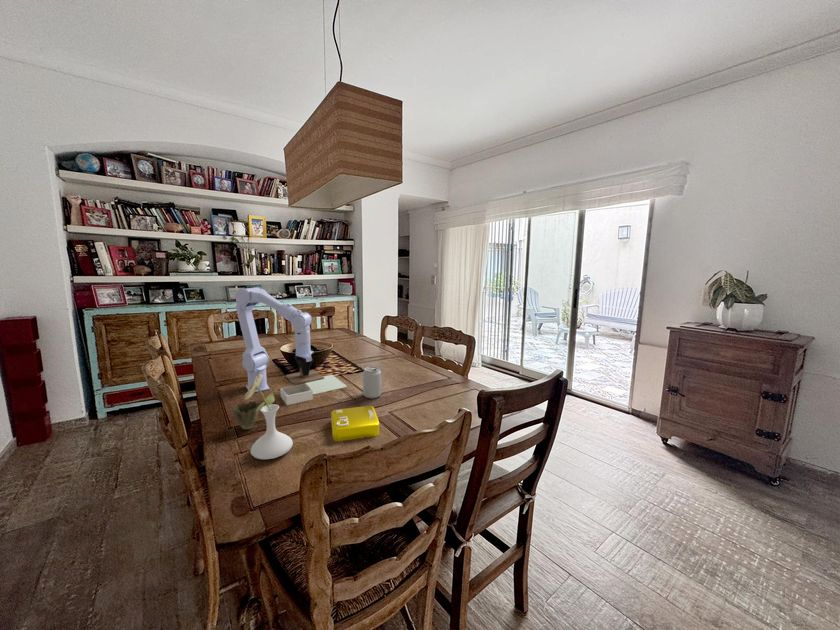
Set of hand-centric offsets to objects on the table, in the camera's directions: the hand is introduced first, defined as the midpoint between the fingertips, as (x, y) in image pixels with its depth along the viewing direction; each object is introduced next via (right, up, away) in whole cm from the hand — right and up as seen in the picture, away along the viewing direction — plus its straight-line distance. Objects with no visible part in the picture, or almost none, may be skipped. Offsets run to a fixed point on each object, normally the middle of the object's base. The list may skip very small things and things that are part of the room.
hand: (304, 373), depth 136 cm
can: (+28, -10, +1) cm, 30 cm away
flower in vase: (+5, -16, -40) cm, 44 cm away
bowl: (-2, -10, -3) cm, 10 cm away
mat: (+4, -7, +12) cm, 15 cm away
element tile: (+26, -14, -25) cm, 39 cm away
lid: (0, -2, 0) cm, 2 cm away
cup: (-9, -14, -27) cm, 31 cm away
